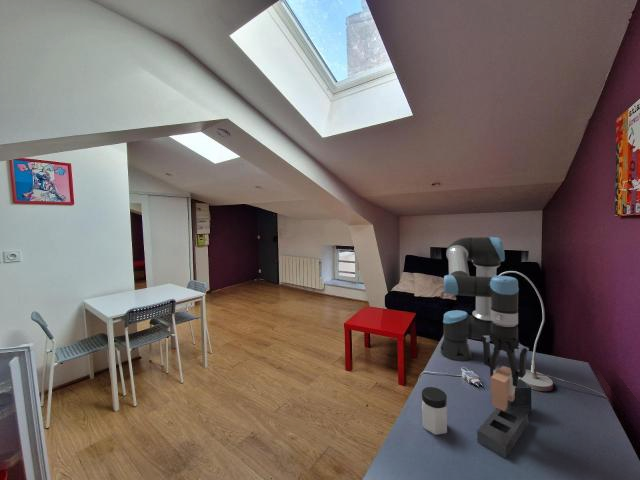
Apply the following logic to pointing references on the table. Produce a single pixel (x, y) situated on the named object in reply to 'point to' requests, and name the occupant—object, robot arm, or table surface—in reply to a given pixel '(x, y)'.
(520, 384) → the box
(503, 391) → the orange tan block
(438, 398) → the jar
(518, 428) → the grey slotted block
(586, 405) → the table surface
